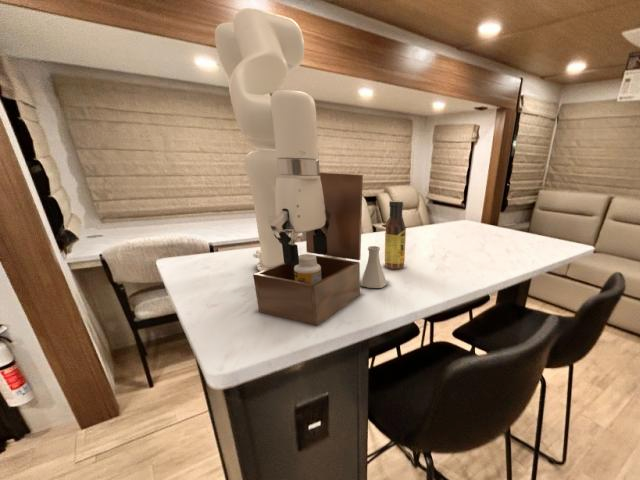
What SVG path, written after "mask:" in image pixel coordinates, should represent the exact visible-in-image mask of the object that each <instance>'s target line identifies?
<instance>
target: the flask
mask: <svg viewBox="0 0 640 480" xmlns="http://www.w3.org/2000/svg"><path fill="white" fill-rule="evenodd" d="M380 250H381V247H380V246H376V245H370V246H367V251H368V258H367V261H366V262H367V263H366V266H365V268H364V272H363V275H362V277H361V279H360V287H365V288H368V289H381V288H384V287H385V286H387V285H388V284H387V280H386V276H385V274H384V271H383V268H382V264H381V261H380V260H381V259H380Z"/></svg>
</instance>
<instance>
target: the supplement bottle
mask: <svg viewBox="0 0 640 480" xmlns="http://www.w3.org/2000/svg"><path fill="white" fill-rule="evenodd" d="M315 255H316V254H311V253H308V254H305V253H304V254H300V255H299V254H298V256H299V264H298V265H296V266H295V267H294V274H295V281H299V282H304V283H309V284H315V283H317V282H319V281H321V280H322V277H321V266H320V265H319V264H317V260H316V256H317V255H316V256H315Z"/></svg>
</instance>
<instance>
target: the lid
mask: <svg viewBox="0 0 640 480" xmlns="http://www.w3.org/2000/svg"><path fill="white" fill-rule="evenodd" d="M320 180H321V184H322V190H323V196H324V204H325V210H326V211H328V212H329V213H330V220H329V227H328V230H327V231H328V235H327V252H328V253H327V254H319V253H315V252H314V245H313V235H316V234H315V233H314V232H313V230H312V231H308V232H305V241H306V242H305V244H306V253H308V254H313V255H320V256H324V255H327V256H334V257H340V258H346V260H352V261H361V255H362V254H361V252H362V251H361V249H362V222H363V221H362V217H363V187H364V186H363V185H364V183H363V182H364V175H363V174H354V173H353V174H352V173H332V172H320Z"/></svg>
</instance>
